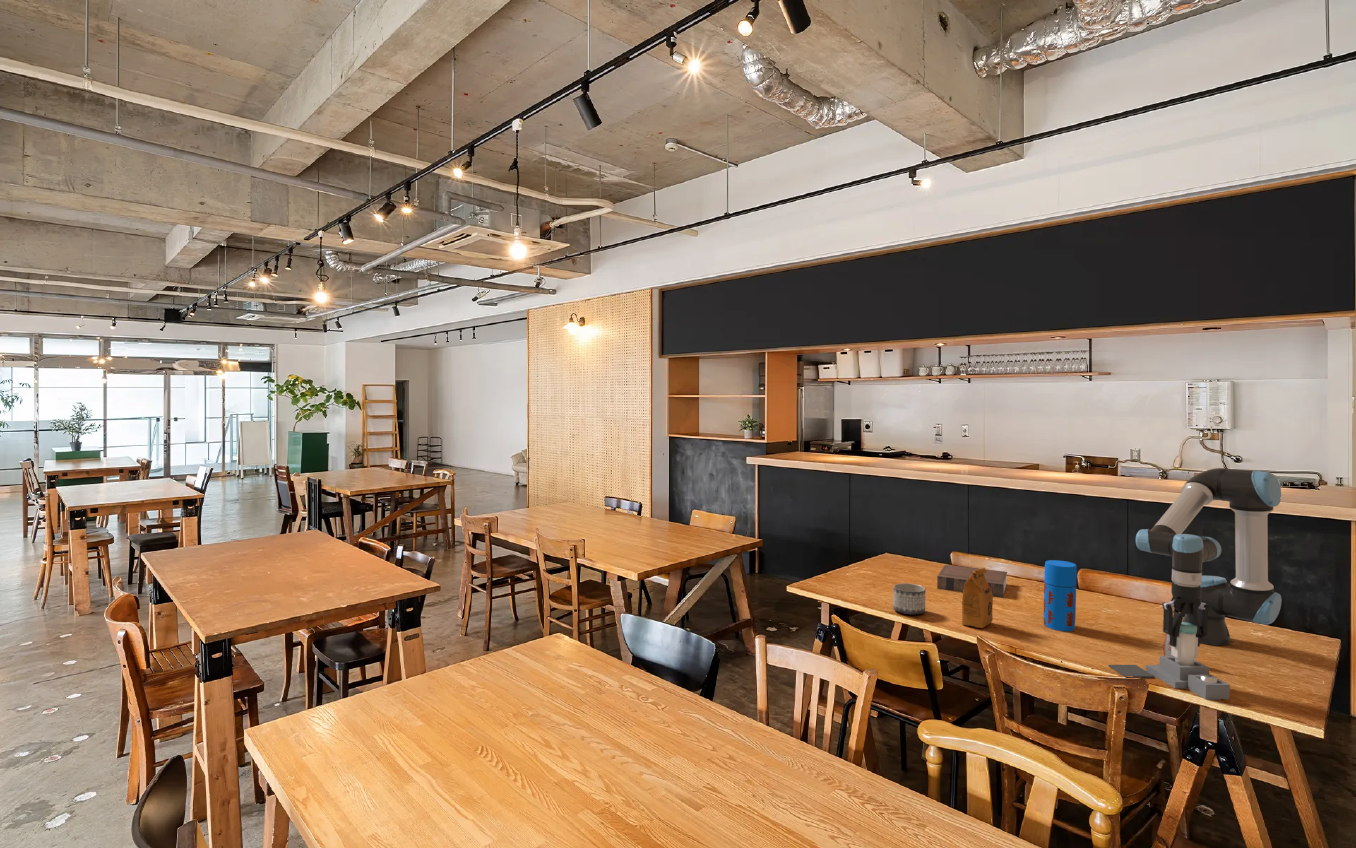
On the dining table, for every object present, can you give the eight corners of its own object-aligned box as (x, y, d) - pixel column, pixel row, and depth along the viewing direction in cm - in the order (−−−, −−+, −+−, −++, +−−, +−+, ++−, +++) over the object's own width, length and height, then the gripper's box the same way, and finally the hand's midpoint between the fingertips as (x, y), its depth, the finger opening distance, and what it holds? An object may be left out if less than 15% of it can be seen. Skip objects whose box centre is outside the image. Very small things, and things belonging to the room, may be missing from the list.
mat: (1108, 666, 221) (1108, 664, 221) (1135, 666, 221) (1135, 664, 221) (1126, 677, 212) (1126, 676, 212) (1154, 678, 212) (1154, 676, 212)
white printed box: (1166, 657, 229) (1167, 628, 229) (1190, 663, 224) (1191, 634, 223) (1163, 660, 227) (1164, 631, 226) (1187, 666, 221) (1188, 636, 221)
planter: (892, 614, 274) (892, 589, 273) (894, 605, 286) (894, 582, 285) (924, 618, 269) (925, 593, 269) (925, 609, 281) (925, 585, 280)
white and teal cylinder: (1169, 670, 213) (1172, 621, 212) (1185, 670, 213) (1188, 621, 212) (1181, 677, 208) (1184, 628, 206) (1198, 677, 208) (1201, 628, 206)
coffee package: (997, 624, 262) (998, 569, 261) (983, 631, 254) (984, 574, 253) (972, 617, 270) (973, 564, 269) (957, 624, 262) (958, 569, 261)
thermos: (1073, 624, 262) (1075, 561, 261) (1076, 633, 252) (1078, 568, 251) (1042, 620, 267) (1043, 559, 266) (1044, 628, 257) (1045, 565, 256)
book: (1003, 598, 297) (1003, 584, 297) (937, 589, 311) (937, 576, 311) (1007, 585, 318) (1007, 571, 318) (945, 577, 332) (945, 564, 332)
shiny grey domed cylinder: (1196, 690, 202) (1196, 674, 202) (1209, 690, 202) (1210, 674, 202) (1206, 695, 198) (1207, 679, 198) (1220, 696, 198) (1220, 679, 198)
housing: (1146, 671, 218) (1146, 653, 217) (1189, 671, 217) (1189, 653, 217) (1193, 699, 197) (1194, 679, 197) (1241, 699, 197) (1241, 680, 197)
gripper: (1166, 587, 206) (1164, 661, 206) (1224, 587, 205) (1222, 661, 206) (1149, 580, 213) (1147, 651, 214) (1205, 580, 213) (1203, 652, 214)
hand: (1184, 656), depth 210 cm, fingers closed on white and teal cylinder, 5 cm apart
